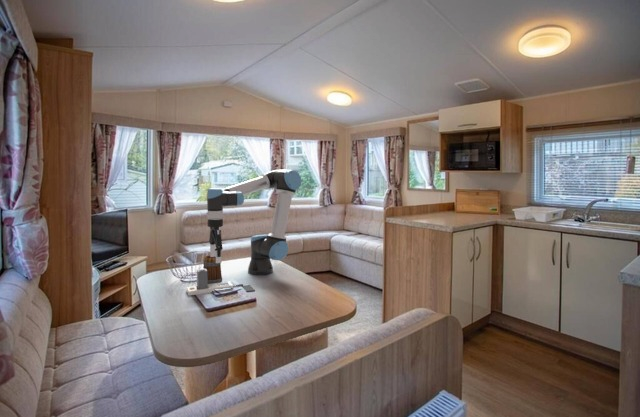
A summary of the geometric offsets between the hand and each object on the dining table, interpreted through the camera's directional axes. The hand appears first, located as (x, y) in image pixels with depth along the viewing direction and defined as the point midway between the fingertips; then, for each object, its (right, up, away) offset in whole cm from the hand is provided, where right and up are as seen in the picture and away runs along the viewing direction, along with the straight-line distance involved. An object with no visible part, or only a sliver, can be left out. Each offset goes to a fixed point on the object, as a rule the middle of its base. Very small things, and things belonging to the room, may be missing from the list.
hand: (215, 259), depth 181 cm
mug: (-6, -15, +17) cm, 23 cm away
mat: (+14, -16, +5) cm, 22 cm away
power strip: (0, -17, +2) cm, 17 cm away
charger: (-6, -16, -1) cm, 17 cm away
